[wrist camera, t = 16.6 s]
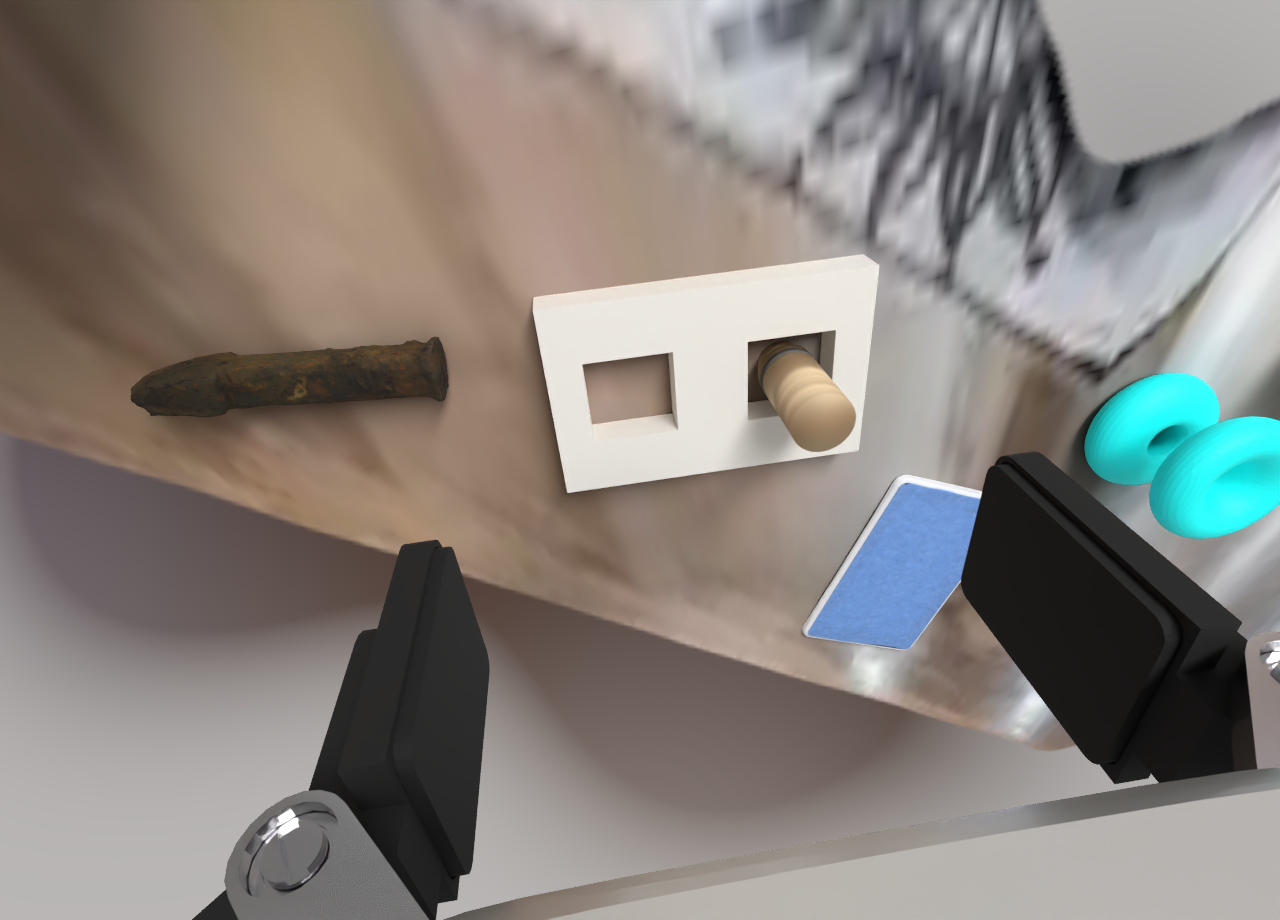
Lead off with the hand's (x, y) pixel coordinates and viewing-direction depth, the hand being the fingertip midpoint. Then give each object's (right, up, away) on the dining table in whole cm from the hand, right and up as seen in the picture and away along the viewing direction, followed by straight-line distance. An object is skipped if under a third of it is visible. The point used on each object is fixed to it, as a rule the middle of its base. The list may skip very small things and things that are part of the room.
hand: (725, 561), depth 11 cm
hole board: (+3, +8, +35) cm, 36 cm away
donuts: (+40, +5, +43) cm, 58 cm away
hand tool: (-24, +8, +32) cm, 41 cm away
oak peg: (+9, +9, +35) cm, 38 cm away
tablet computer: (+23, -8, +49) cm, 55 cm away
